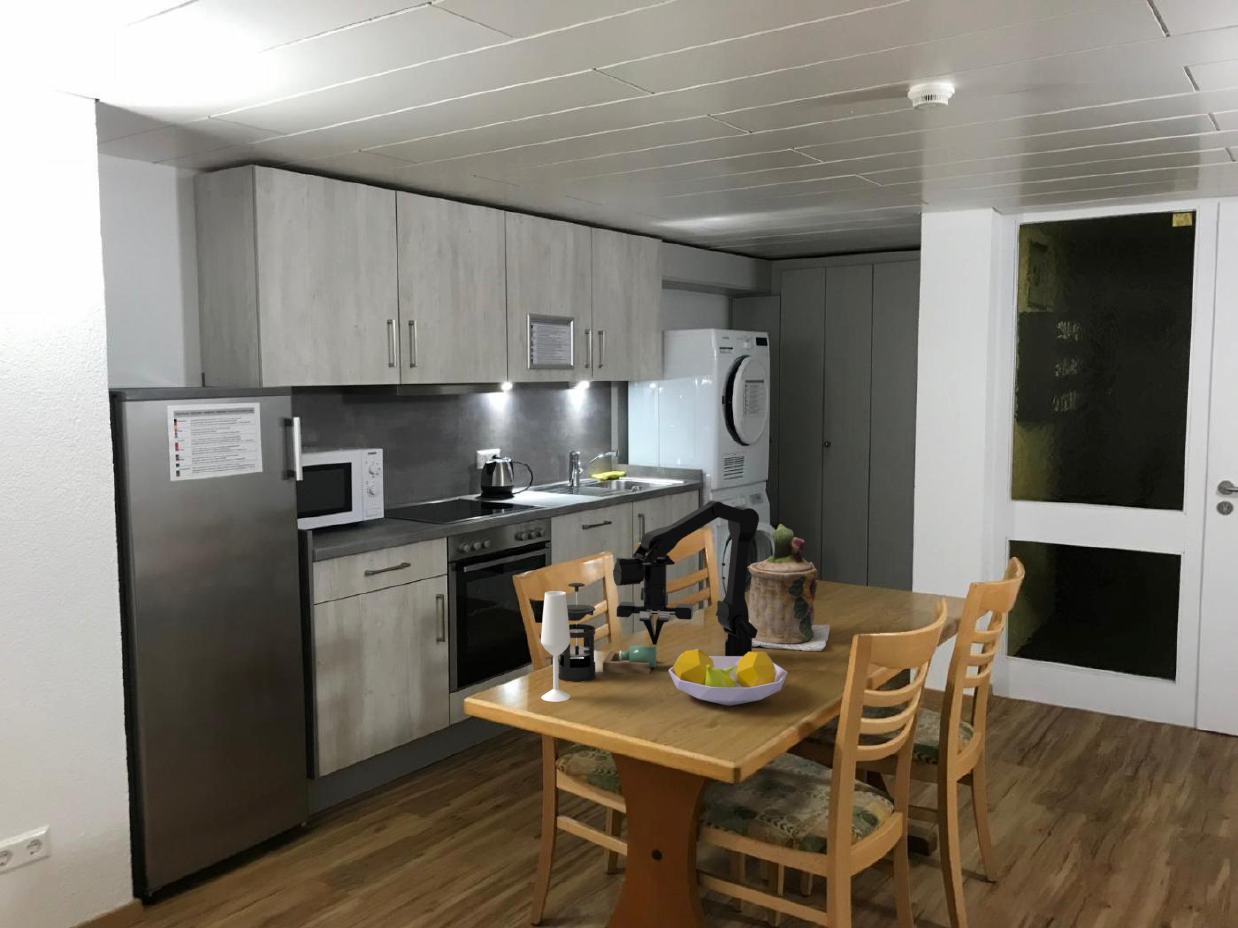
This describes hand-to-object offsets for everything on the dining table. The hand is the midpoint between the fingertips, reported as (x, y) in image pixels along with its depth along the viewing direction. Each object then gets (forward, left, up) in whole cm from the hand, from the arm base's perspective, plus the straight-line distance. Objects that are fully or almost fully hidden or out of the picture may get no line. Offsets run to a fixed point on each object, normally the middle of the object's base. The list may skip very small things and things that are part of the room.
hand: (654, 644), depth 252 cm
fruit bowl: (-19, +21, -6) cm, 29 cm away
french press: (+18, +10, -6) cm, 22 cm away
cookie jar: (-32, -35, -6) cm, 48 cm away
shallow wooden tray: (+6, 0, -6) cm, 8 cm away
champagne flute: (+19, +27, -6) cm, 34 cm away
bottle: (0, 0, -3) cm, 3 cm away
